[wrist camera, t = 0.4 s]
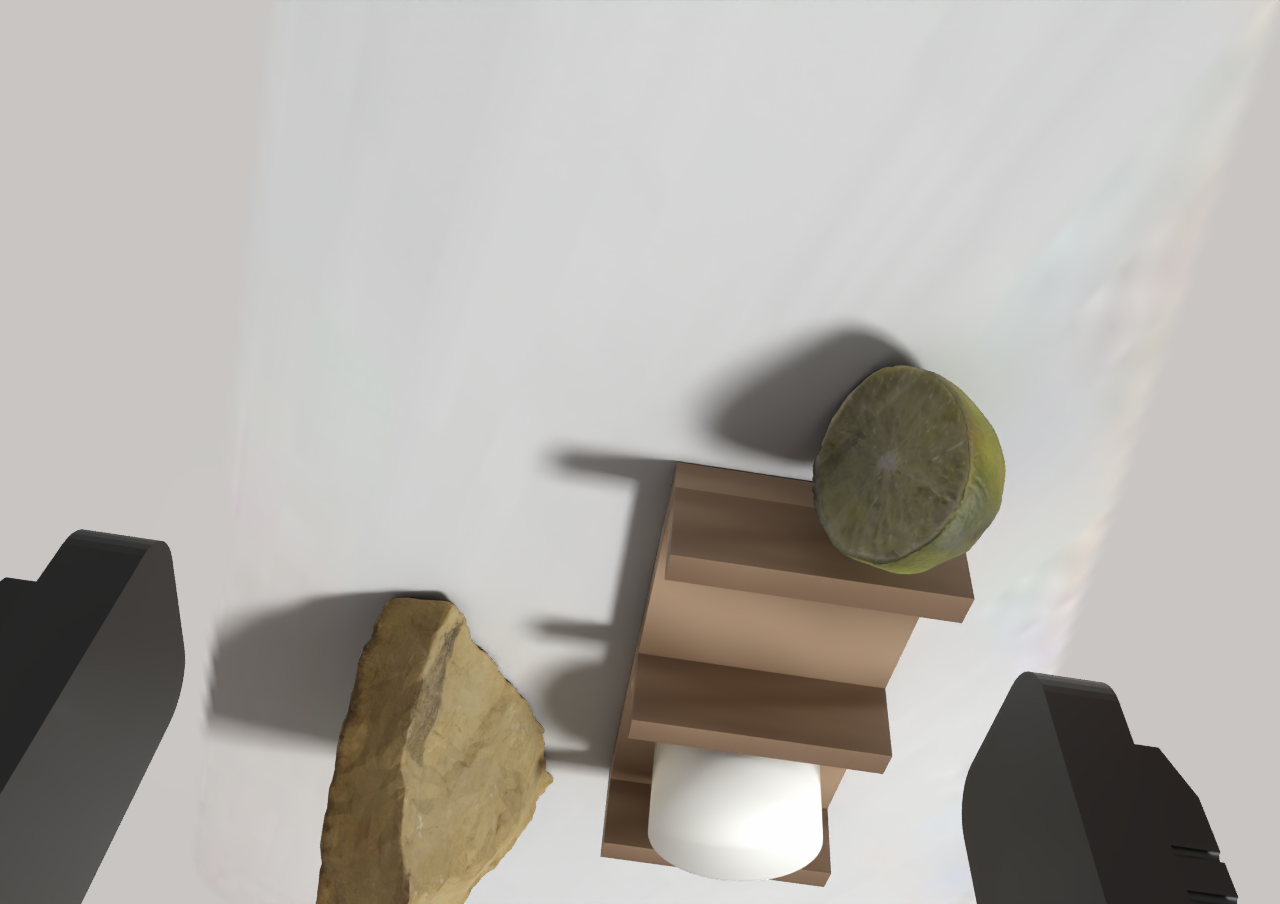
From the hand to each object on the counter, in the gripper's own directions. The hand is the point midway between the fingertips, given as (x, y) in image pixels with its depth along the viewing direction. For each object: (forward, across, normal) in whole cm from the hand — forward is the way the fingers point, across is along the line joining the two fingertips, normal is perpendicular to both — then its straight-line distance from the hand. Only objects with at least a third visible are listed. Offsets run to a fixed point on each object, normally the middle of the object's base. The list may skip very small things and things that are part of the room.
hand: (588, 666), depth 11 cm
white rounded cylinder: (+18, -6, +23) cm, 30 cm away
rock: (+19, +3, +23) cm, 30 cm away
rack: (+19, -6, +19) cm, 27 cm away
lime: (+18, -8, +8) cm, 21 cm away
